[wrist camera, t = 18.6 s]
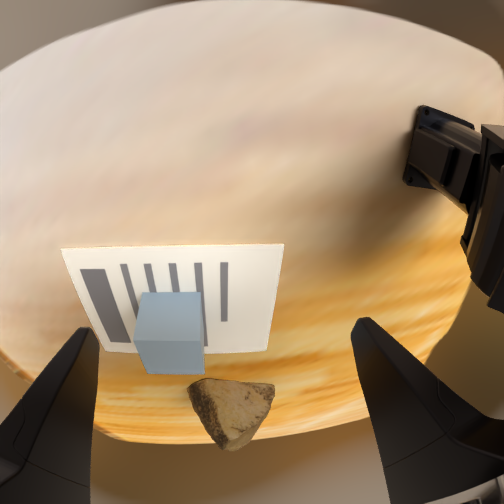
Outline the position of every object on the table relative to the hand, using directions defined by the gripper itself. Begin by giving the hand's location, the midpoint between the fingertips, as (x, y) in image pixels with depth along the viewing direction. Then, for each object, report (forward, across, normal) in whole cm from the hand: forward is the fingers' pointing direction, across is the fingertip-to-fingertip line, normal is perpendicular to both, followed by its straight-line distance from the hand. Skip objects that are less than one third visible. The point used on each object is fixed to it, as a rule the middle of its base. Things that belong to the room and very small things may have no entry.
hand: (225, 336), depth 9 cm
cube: (+12, +4, +12) cm, 17 cm away
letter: (+12, +4, +12) cm, 17 cm away
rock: (+12, -1, +28) cm, 31 cm away
